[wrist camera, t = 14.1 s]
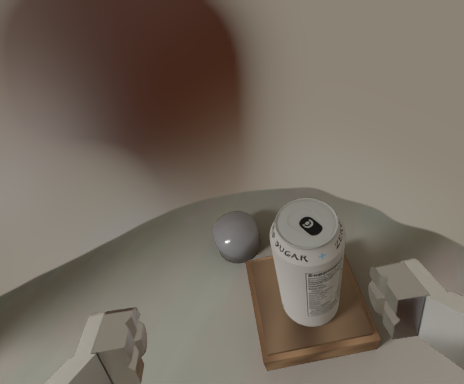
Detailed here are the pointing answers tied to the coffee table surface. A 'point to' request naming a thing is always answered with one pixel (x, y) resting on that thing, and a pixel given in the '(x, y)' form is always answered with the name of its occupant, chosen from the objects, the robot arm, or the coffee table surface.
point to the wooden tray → (304, 337)
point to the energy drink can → (308, 259)
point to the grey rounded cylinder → (236, 236)
